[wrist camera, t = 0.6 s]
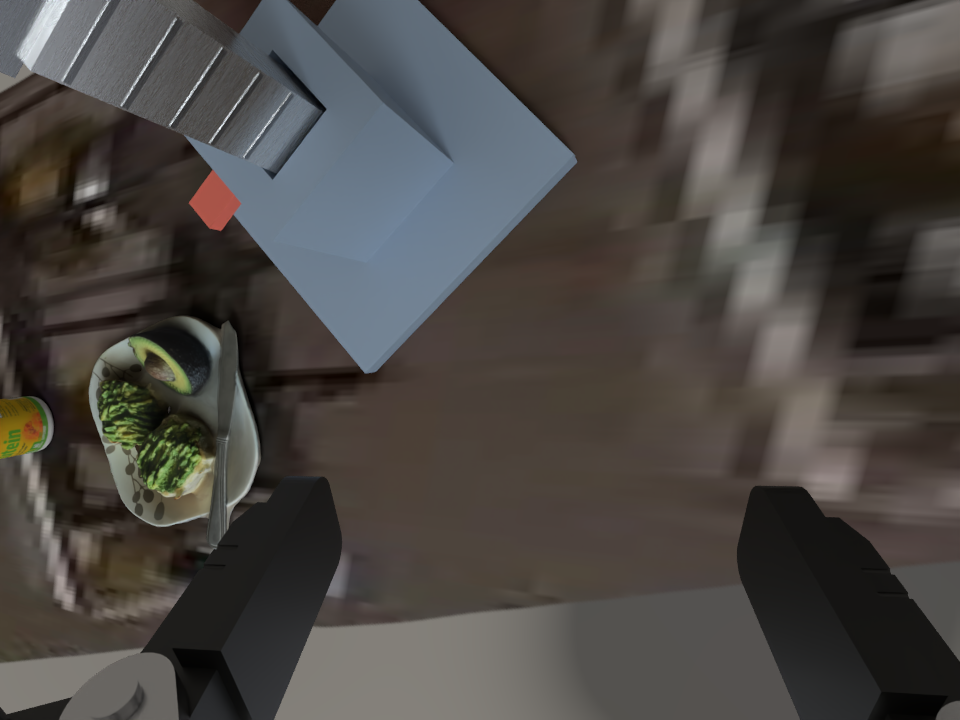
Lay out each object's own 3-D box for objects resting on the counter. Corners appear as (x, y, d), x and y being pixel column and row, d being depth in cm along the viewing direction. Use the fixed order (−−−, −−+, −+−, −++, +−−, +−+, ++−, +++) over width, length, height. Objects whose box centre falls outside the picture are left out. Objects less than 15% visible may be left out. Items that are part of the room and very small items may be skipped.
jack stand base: (381, -32, 36) (272, -181, 25) (577, 162, 32) (545, 83, 22) (221, 186, 41) (76, 138, 31) (375, 371, 38) (273, 388, 27)
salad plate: (311, 519, 41) (271, 542, 36) (154, 562, 46) (103, 586, 42) (239, 290, 42) (191, 286, 37) (93, 359, 47) (37, 362, 43)
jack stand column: (369, 116, 34) (-17, -178, 14) (407, 158, 34) (58, -91, 14) (322, 176, 36) (-91, -18, 16) (358, 216, 35) (-26, 69, 15)
